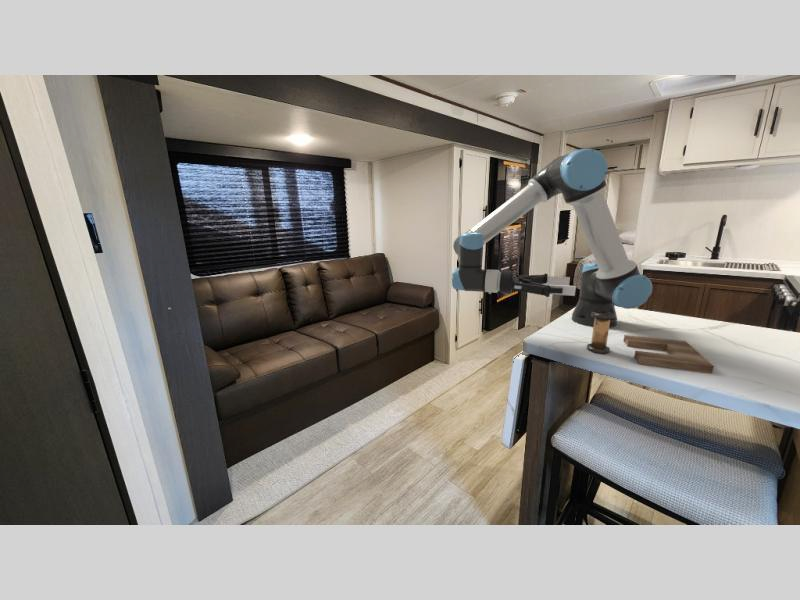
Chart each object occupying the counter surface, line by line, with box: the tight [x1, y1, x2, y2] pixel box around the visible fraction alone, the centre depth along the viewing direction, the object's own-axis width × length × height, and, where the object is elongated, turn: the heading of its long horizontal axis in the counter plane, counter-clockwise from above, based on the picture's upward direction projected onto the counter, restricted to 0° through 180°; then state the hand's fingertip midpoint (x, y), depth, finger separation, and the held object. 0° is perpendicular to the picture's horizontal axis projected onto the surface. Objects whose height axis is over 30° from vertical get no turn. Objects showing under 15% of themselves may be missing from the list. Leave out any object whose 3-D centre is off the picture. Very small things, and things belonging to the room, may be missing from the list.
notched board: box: [623, 334, 715, 374], centre depth 95 cm, size 18×16×2 cm
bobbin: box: [586, 311, 615, 355], centre depth 98 cm, size 6×6×12 cm
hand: (572, 285), depth 97 cm, fingers open, 13 cm apart
